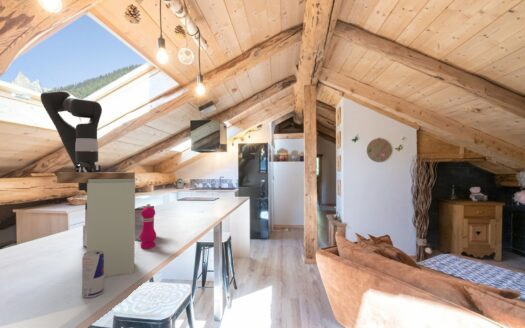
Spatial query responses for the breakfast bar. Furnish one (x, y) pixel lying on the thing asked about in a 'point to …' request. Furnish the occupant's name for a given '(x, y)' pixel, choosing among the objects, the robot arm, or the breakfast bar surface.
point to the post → (112, 223)
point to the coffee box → (139, 222)
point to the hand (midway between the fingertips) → (87, 191)
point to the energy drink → (92, 274)
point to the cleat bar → (91, 176)
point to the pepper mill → (148, 228)
